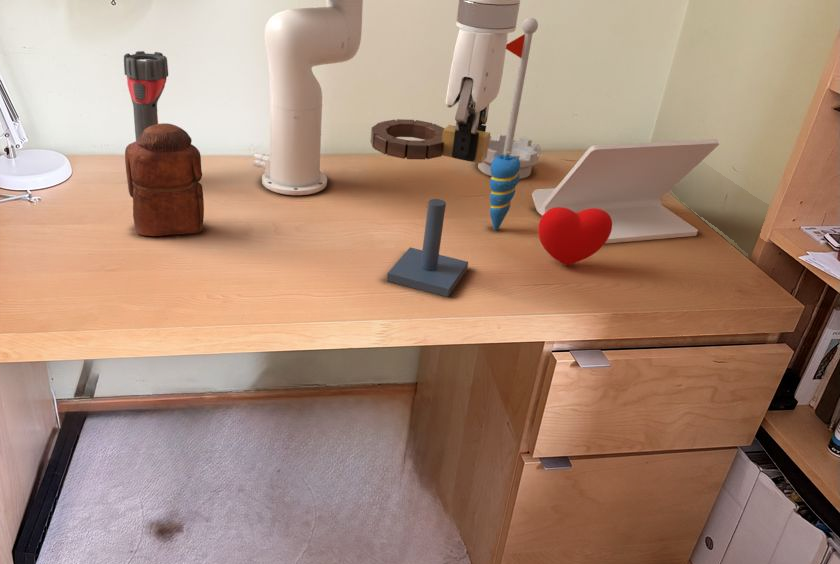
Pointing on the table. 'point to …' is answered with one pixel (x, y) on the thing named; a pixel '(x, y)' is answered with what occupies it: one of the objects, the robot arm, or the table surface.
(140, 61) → the flashlight
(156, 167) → the wooden figurine
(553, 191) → the tablet stand
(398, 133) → the walnut ring
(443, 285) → the peg rack
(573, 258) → the heart
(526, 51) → the flag stand
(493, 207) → the ornament
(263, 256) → the table surface
